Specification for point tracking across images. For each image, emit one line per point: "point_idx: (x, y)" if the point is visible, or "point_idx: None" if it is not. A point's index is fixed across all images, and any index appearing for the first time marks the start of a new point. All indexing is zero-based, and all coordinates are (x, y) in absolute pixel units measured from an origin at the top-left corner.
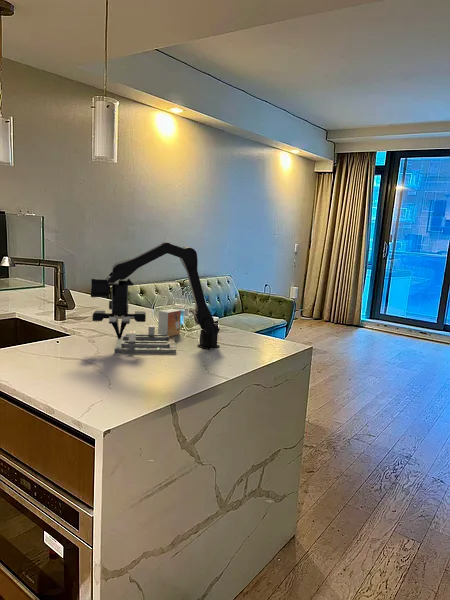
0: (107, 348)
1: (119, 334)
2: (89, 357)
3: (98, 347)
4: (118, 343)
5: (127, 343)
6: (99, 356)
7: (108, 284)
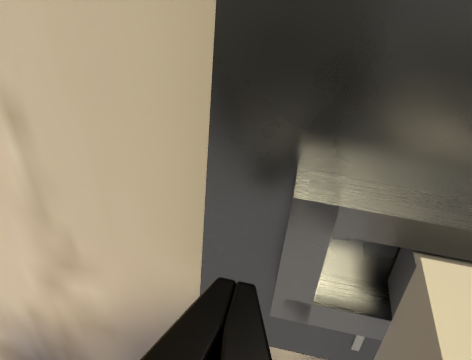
0: (120, 135)
1: (218, 350)
2: (30, 329)
3: (5, 79)
4: (244, 138)
5: (354, 322)
6: (95, 328)
7: None
